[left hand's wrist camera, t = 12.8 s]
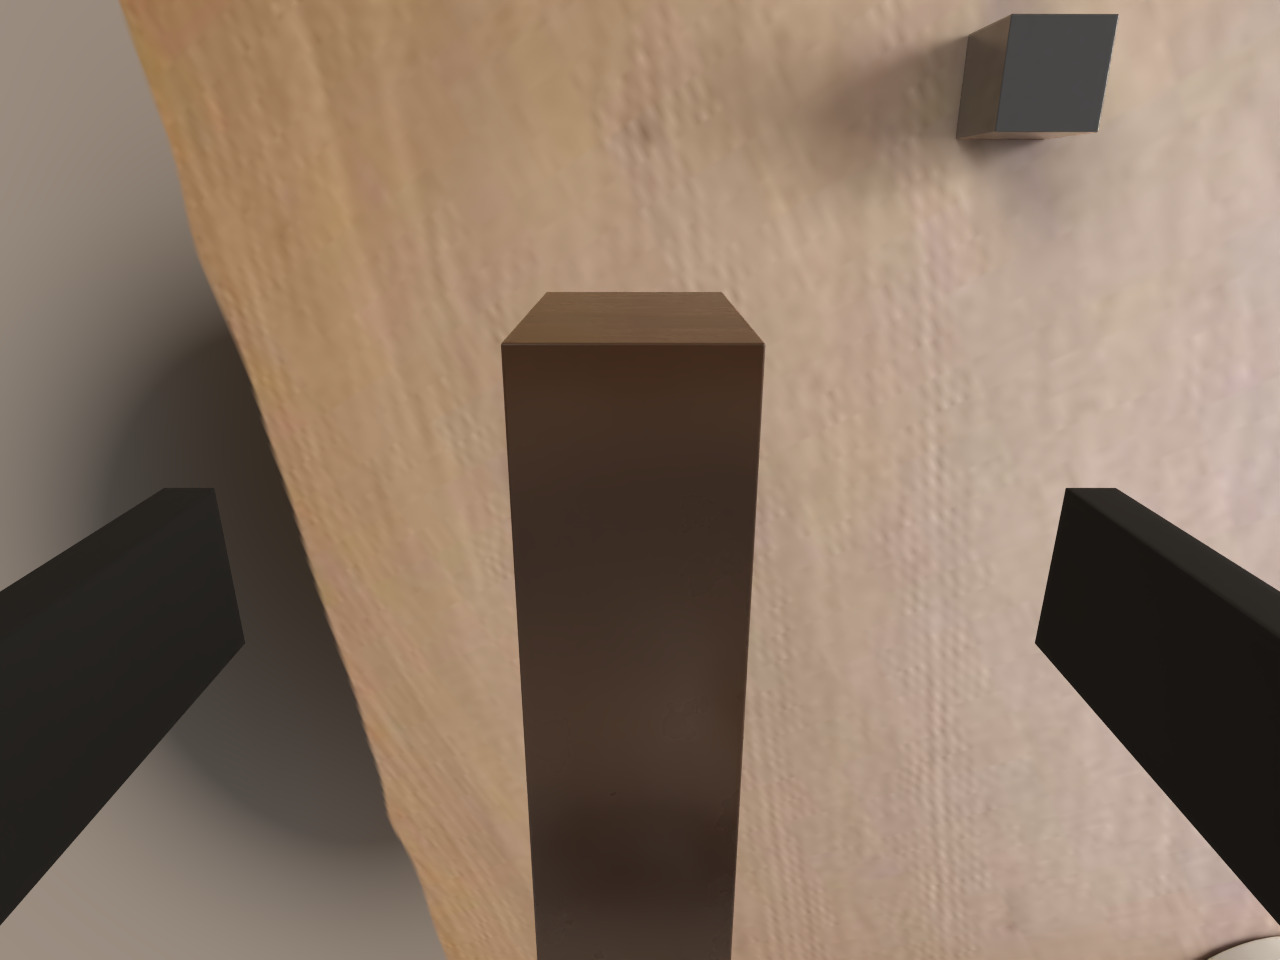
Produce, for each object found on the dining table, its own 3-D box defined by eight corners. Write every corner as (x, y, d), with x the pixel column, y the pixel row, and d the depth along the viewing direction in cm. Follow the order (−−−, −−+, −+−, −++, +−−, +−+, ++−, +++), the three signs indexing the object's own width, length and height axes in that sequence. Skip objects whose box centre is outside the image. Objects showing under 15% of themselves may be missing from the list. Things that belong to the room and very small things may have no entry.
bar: (546, 292, 22) (500, 343, 15) (722, 292, 22) (765, 343, 15) (572, 961, 31) (551, 1204, 24) (698, 961, 31) (717, 1204, 24)
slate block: (968, 34, 33) (1011, 13, 29) (1064, 34, 33) (1119, 13, 29) (955, 139, 34) (995, 132, 30) (1047, 139, 34) (1098, 132, 30)
